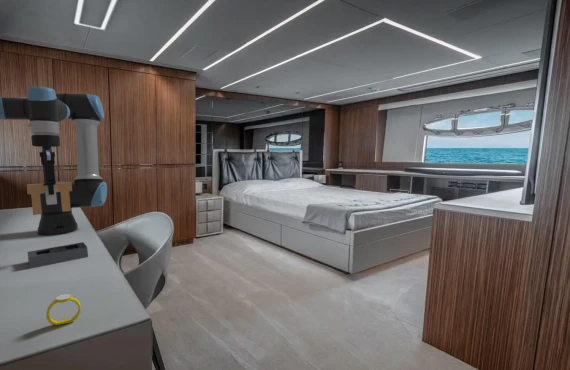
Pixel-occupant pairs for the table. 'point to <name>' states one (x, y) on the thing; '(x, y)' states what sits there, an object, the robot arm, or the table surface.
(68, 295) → the watch
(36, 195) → the notched wooden block
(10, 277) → the table surface
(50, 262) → the slotted gray block
